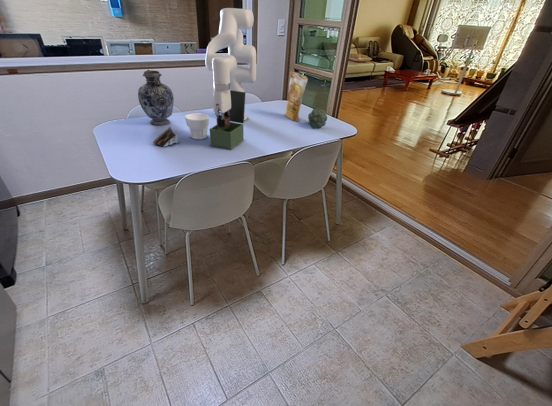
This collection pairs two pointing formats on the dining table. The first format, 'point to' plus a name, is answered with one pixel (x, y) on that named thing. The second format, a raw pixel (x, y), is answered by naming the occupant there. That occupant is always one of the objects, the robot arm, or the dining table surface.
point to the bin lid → (237, 106)
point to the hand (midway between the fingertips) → (223, 124)
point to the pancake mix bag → (295, 94)
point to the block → (225, 122)
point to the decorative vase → (156, 98)
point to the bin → (227, 136)
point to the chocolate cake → (166, 138)
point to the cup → (197, 124)
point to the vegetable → (317, 118)
